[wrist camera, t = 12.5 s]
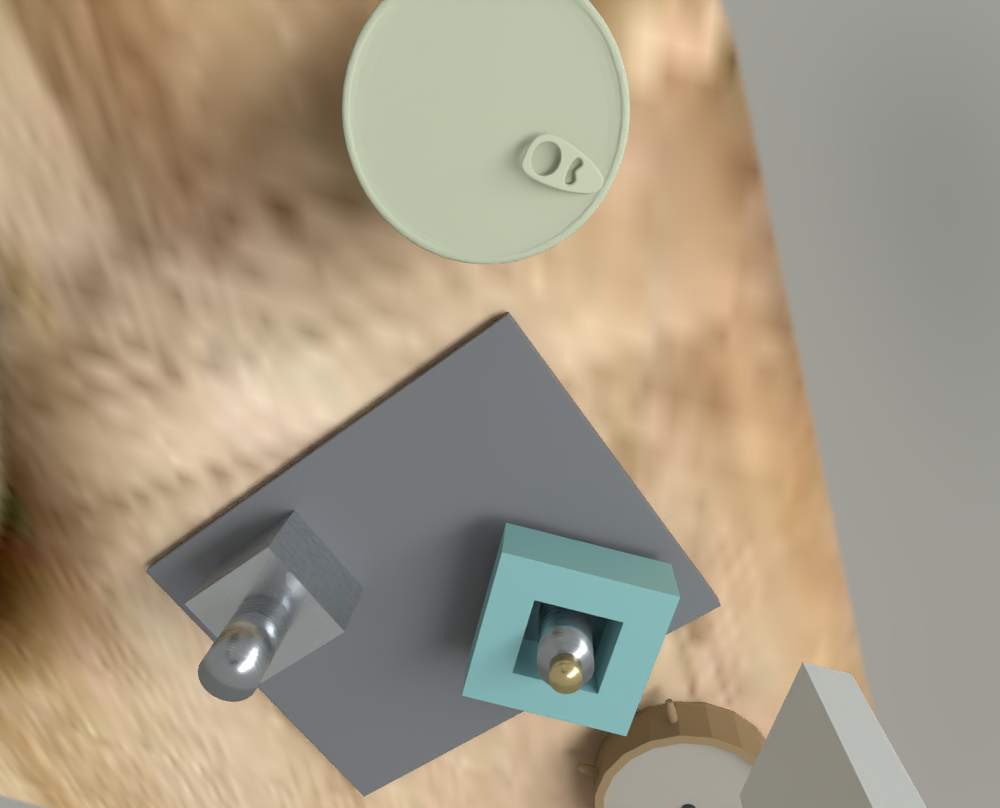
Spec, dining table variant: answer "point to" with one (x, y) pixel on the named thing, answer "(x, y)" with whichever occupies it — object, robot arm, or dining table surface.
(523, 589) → the teal square collar
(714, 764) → the alarm clock
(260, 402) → the dining table surface
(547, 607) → the bell
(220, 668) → the stand
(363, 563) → the mat
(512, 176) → the can
